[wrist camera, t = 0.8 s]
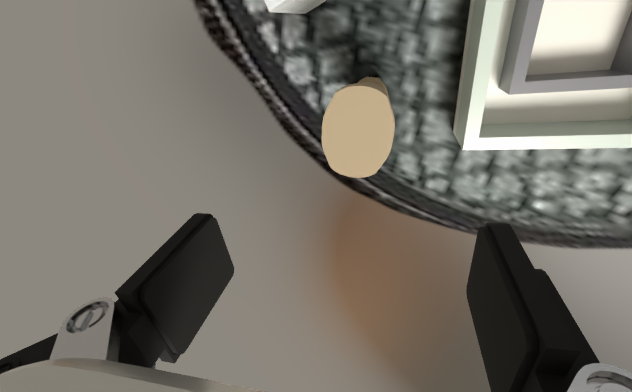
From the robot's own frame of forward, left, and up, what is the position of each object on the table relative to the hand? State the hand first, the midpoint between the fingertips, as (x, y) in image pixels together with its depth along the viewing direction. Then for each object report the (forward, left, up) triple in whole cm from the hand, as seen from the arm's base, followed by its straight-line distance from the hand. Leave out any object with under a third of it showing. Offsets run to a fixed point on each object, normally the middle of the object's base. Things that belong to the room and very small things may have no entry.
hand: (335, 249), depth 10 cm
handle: (0, 0, -26) cm, 26 cm away
